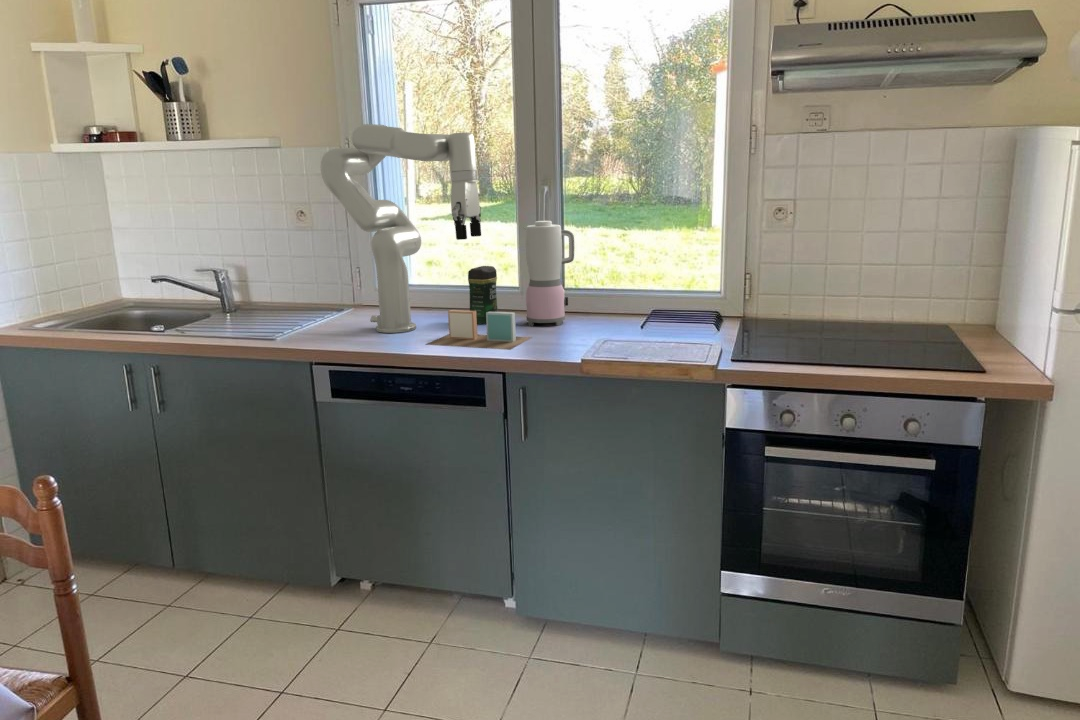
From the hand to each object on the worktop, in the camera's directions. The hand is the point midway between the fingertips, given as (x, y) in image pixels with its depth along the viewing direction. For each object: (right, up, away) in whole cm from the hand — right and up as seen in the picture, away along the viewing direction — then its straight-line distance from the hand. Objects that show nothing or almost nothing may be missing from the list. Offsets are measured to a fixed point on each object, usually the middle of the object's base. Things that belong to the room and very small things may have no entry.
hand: (469, 237), depth 237 cm
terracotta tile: (-2, -29, -1) cm, 29 cm away
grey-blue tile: (+10, -30, -5) cm, 32 cm away
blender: (+24, -24, +23) cm, 41 cm away
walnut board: (+3, -31, -5) cm, 32 cm away
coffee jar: (+3, -24, +23) cm, 34 cm away
